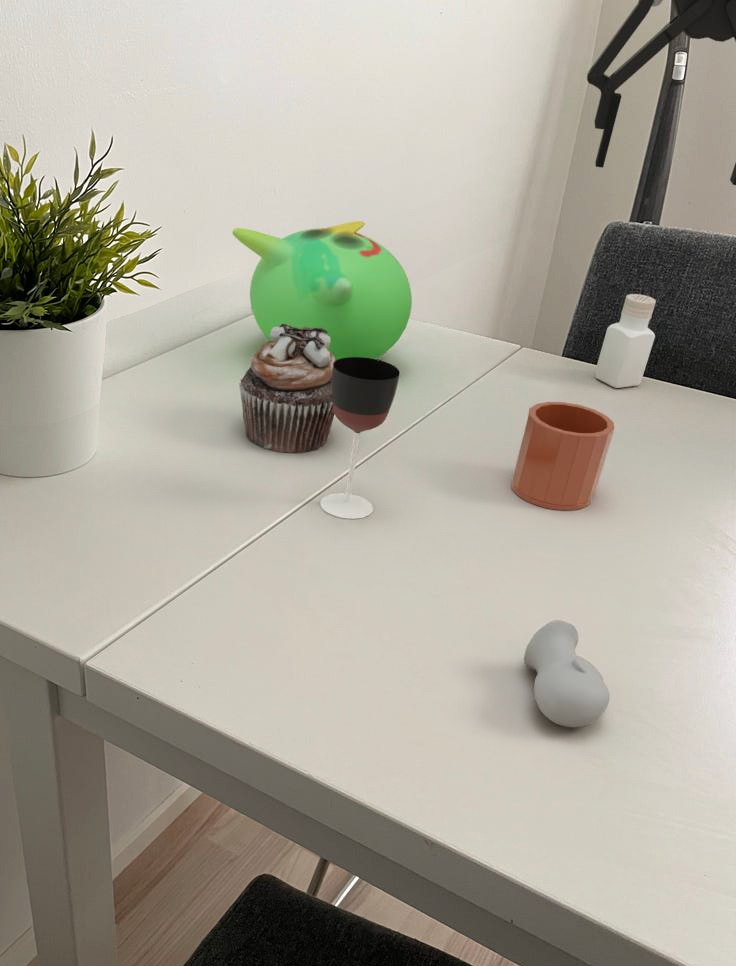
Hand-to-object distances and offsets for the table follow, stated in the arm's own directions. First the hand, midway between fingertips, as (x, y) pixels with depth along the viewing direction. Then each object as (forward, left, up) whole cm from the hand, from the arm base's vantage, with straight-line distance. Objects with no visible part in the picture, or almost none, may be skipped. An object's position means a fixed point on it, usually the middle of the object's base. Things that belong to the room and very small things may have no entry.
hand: (666, 174), depth 103 cm
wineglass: (+23, +43, -22) cm, 54 cm away
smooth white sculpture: (+5, +64, -22) cm, 68 cm away
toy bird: (+32, +10, -22) cm, 40 cm away
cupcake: (+31, +31, -22) cm, 49 cm away
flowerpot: (+6, +33, -22) cm, 40 cm away
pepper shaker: (-1, +1, -22) cm, 22 cm away
